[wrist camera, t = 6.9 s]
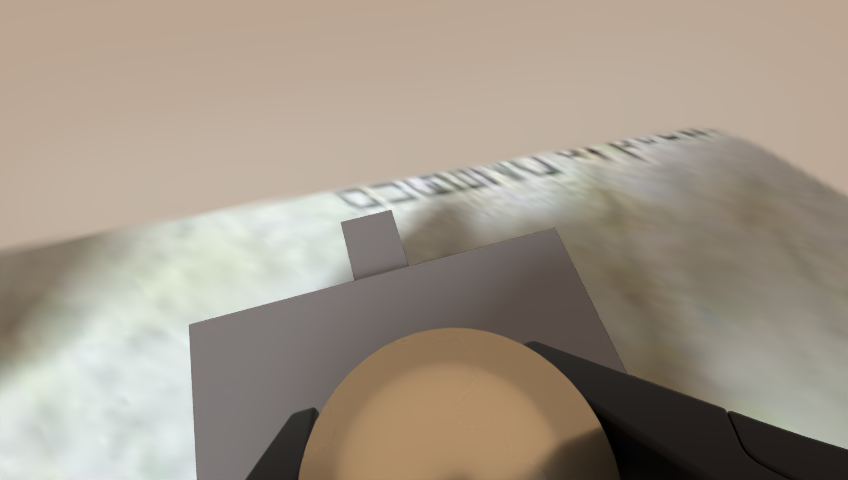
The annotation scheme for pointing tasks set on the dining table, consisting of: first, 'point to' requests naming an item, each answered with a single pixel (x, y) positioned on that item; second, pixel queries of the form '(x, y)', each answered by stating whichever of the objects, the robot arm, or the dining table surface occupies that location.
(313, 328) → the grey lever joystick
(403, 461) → the plunger
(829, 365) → the dining table surface
